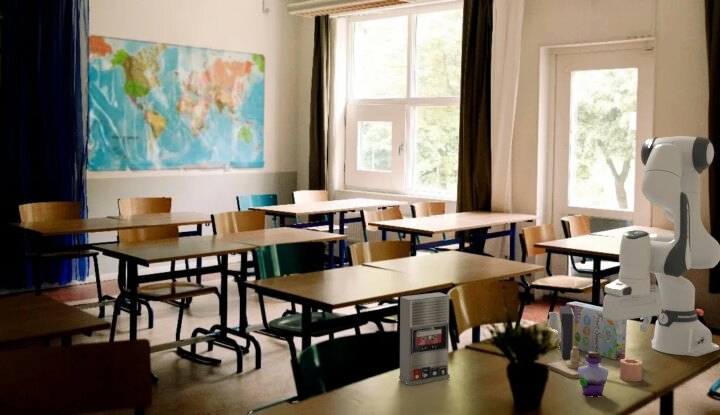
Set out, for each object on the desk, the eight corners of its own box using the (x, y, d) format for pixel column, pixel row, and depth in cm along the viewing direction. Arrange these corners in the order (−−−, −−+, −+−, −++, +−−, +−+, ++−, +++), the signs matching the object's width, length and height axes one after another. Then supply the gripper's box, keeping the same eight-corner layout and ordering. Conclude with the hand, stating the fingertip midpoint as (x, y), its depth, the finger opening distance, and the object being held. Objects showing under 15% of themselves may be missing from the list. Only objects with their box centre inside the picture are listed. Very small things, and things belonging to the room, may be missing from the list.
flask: (564, 339, 269) (565, 311, 268) (562, 344, 262) (563, 316, 261) (543, 337, 271) (543, 310, 270) (541, 342, 265) (541, 314, 264)
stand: (576, 362, 242) (576, 340, 241) (603, 373, 231) (604, 349, 230) (545, 367, 237) (546, 344, 236) (572, 378, 226) (573, 354, 225)
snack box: (626, 358, 247) (628, 312, 246) (615, 360, 244) (617, 314, 242) (574, 343, 265) (575, 300, 263) (563, 345, 261) (564, 302, 260)
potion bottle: (570, 394, 212) (572, 352, 211) (584, 386, 219) (586, 345, 217) (600, 401, 206) (601, 358, 205) (613, 393, 213) (615, 351, 212)
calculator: (574, 360, 245) (575, 314, 243) (560, 359, 245) (561, 313, 244) (571, 350, 255) (573, 306, 254) (558, 349, 256) (559, 305, 255)
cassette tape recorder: (409, 386, 219) (410, 300, 216) (399, 380, 224) (399, 296, 222) (450, 379, 225) (451, 296, 223) (438, 373, 230) (439, 292, 228)
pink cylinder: (630, 373, 231) (631, 357, 230) (646, 379, 225) (646, 362, 225) (615, 376, 228) (616, 360, 228) (630, 382, 223) (631, 365, 222)
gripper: (651, 282, 231) (649, 326, 232) (600, 287, 222) (598, 333, 223) (668, 285, 226) (666, 331, 227) (616, 291, 217) (614, 338, 218)
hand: (632, 332), depth 225 cm, fingers open, 8 cm apart
